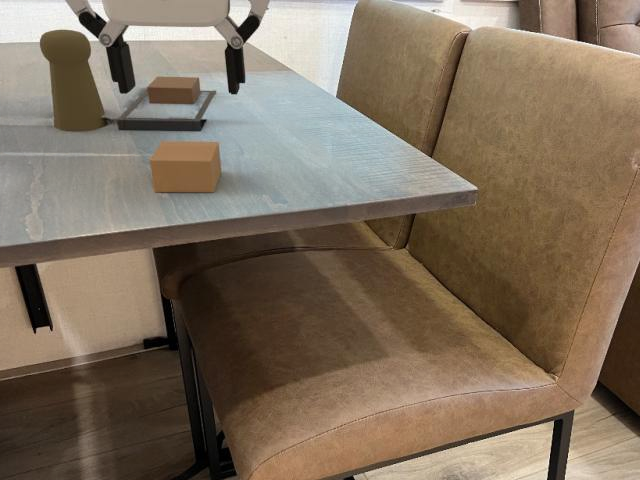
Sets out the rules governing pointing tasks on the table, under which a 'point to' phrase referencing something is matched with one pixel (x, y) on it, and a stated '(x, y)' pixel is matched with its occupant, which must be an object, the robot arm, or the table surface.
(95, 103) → the olive pawn
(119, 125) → the frame
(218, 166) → the loose pad
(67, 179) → the table surface
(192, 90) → the pad
